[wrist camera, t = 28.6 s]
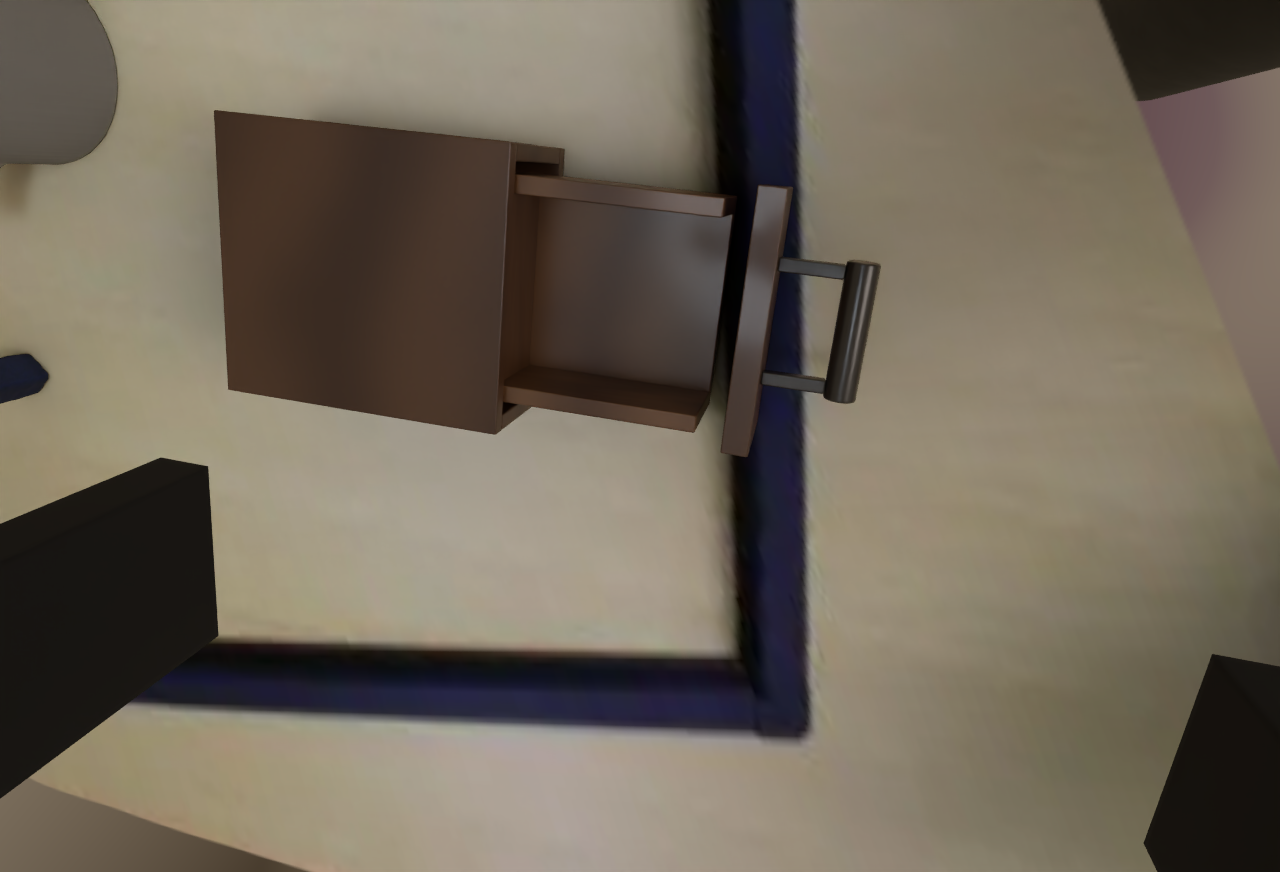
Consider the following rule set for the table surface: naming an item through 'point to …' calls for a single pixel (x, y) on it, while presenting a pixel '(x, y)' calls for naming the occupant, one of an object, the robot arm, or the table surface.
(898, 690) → the table surface
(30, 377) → the eraser
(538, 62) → the table surface
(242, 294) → the cabinet
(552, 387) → the drawer
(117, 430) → the table surface
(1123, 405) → the table surface
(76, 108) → the coffee mug
